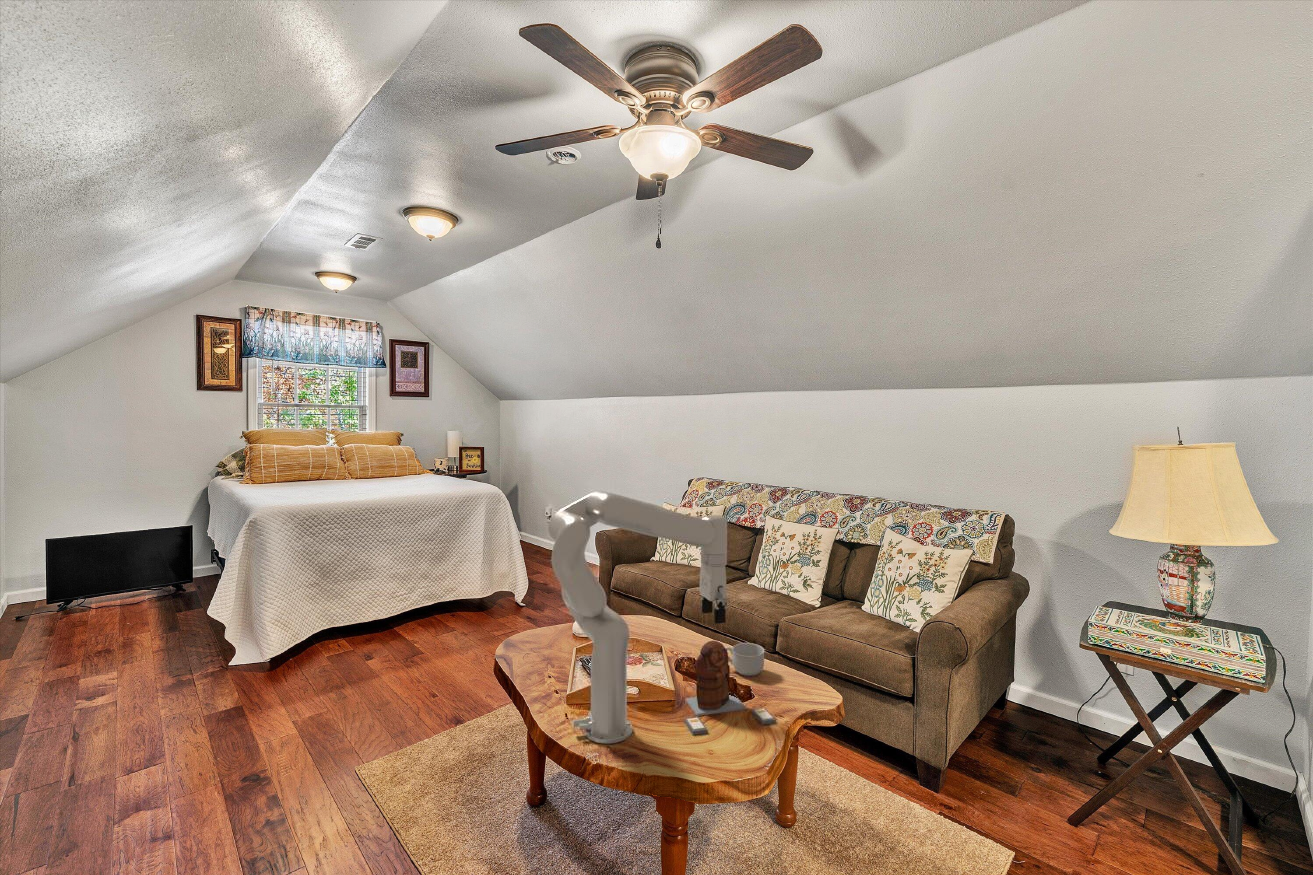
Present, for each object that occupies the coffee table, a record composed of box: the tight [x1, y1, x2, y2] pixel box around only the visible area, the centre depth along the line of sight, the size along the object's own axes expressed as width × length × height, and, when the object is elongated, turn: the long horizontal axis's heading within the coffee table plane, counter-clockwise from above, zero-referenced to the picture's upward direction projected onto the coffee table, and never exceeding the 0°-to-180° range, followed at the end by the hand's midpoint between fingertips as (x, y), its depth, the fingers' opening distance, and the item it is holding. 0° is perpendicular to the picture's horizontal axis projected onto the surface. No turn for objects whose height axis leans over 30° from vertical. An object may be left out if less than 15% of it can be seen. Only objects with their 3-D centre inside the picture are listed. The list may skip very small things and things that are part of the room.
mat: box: [685, 695, 747, 717], centre depth 169 cm, size 15×10×1 cm, turn 106°
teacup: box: [724, 642, 766, 677], centre depth 193 cm, size 14×11×8 cm
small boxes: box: [683, 707, 777, 736], centre depth 159 cm, size 24×7×1 cm, turn 106°
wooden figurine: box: [695, 640, 731, 710], centre depth 169 cm, size 12×6×18 cm, turn 142°
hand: (713, 617), depth 168 cm, fingers open, 9 cm apart
